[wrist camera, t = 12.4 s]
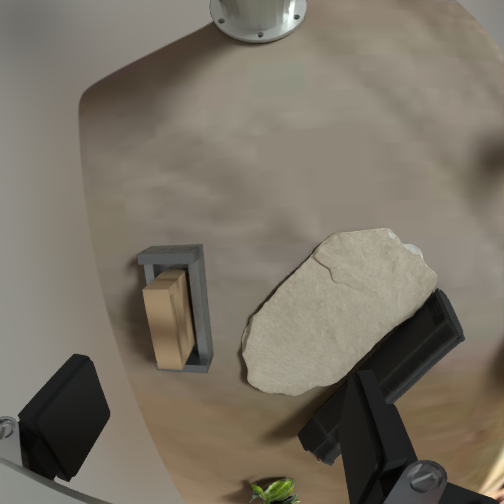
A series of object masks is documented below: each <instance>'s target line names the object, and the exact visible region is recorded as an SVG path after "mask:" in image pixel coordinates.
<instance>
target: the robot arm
mask: <svg viewBox="0 0 504 504" xmlns="http://www.w3.org/2000/svg"><path fill="white" fill-rule="evenodd" d="M306 7H307V4H306V0H211V1H210V14H211V16H212V18H213V21H214V23H215V24H216V26H217V27H218V28H219V29H220V30H221V31H222V32H223V33H225V34H226V35H228V36H230V37H232V38H234V39H237V40H241V41H244V42H252V43H264V42H270V41H274V40H278V39H281V38H283V37H285V36H287V35H289V34H291V33H292V32H293V31H295V30H296V29H297V28H298V27H299V26H300V24H301V23H302V21H303V19H304V17H305V13H306ZM296 19H298V20H296ZM221 23H222V24H221ZM259 36H262V37H261V38H259ZM18 417H19V419H20V421H19V422H17V421H16V419H14V418H13V417H9V416H2V417H0V504H112V503H109V502H106V501H103V500H100V499H97V498H94V497H91V496H88V495H85V494H83V493H80V492H78V491H75V490H72V489H70V488H68V487H65V486H63V485H61V484H58V483H56V482H55V480H54V478H55V476H57V477H58V478H60V479H62V480H65V481H67V482H69V481H70V480H71V478H72V477H74V476H76V474H77V473H78V471H79V469H80V467H81V466H82V464H83V462H84V461H85V459H86V457H87V455H88V454H89V452H90V450H91V448H92V447H93V445H94V443H95V442H96V440H97V438H98V437H99V435H100V433H101V432H102V430H103V428H104V426H105V425H106V423H107V421H108V420H109V417H110V410H109V407H108V404H107V402H106V399H105V396H104V393H103V390H102V388H101V385H100V382H99V379H98V376H97V373H96V370H95V367H94V364H93V362H92V361H91V360H90V358H89V357H88V356H85V355H80V354H73V355H72V356H71V357H70V358H69V359H68V361H66V363H65V364H64V365H63V366H62V367H61V368H60V369H59V370H58V371H57V372H56V373H55V374H54V375H53V376H52V377H51V379H50V380H49V381H48V382H47V383H46V384H45V385H44V386H43V387H42V389H40V391H39V392H38V393H37V394H36V395H35V396H34V397H33V398H32V399H31V401H30V402H29V403H28V404H27V405H26V406H25V407H24V408H23V410H22V411H21V412H20V413H19V414H18ZM338 437H339V443H340V448H341V454H342V459H343V465H344V470H345V476H346V482H347V488H348V494H349V500H350V504H499V502H498V501H497V500H495V499H493V498H491V497H488V496H485V495H482V494H479V493H476V492H473V491H470V490H468V489H465V488H462V487H459V486H457V485H454V484H452V483H449V482H447V480H448V477H447V472H446V471H445V469H444V468H443V467H442V466H441V465H440V464H439V463H437V462H435V461H431V460H419V461H418V459H417V456H416V454H415V451H414V449H413V446H412V444H411V441H410V439H409V436H408V434H407V432H406V429H405V427H404V424H403V422H402V420H401V417H400V415H399V412H398V410H397V408H396V406H395V405H394V404H386V401H385V399H384V396H383V394H382V391H381V389H380V386H379V384H378V382H377V379H376V377H375V375H374V372H373V371H372V370H362V371H356V372H355V374H354V375H351V376H350V377H349V381H348V386H347V391H346V396H345V400H344V405H343V410H342V414H341V418H340V423H339V427H338Z"/></svg>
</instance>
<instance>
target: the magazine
mask: <svg viewBox="0 0 504 504" xmlns="http://www.w3.org/2000/svg"><path fill="white" fill-rule="evenodd" d="M464 340H465V337H464V335H463V329H462V327H461V325H460V322H459V320H458V318H457V316H456V314H455V311H454V309H453V307H452V305H451V303H450V301H449V299H448V298H447V296H446V294H445V293H444V292H443V291H442V290H439V289H438V288H437V289H436V290H435V292H434V293H433V294H432V296H431V297H430V298H429V299H428V300H427V301H426V302H425V303H424V304H423V306H422V307H421V308H420V309H418V310H417V311H416V312H415V314H414V316H412V317H410V318H409V319H408V320H407V321H406V322H405V323H404V324H403V325H402V326H401V327H400V328H399V329H398V330H397V331H396V332H395V333H394V334H393V335H392V336H391V337H390V338H389V339H388V340H387V341H386V342H385V343H384V344H383V345H382V346H381V347H380V348H379V349H378V350H377V351H376V352H375V353H374V354H373V355H372V356H371V357H370V358H369V359H368V360H367V361H366V362H365V363H364V364H363V365H362V366H361V367H360V368H359V369H358V370H357V371H362V370H372V371H373V372H374V375H375V377H376V379H377V382H378V384H379V386H380V389H381V391H382V394H383V396H384V399H385V401H386V404H393V403H394V402H395V401H396V400H397V399H398V398H400V397H401V396H402V395H403V394H404V393H405V392H406V391H407V390H409V389H410V388H411V387H412V386H413V385H414V384H415V383H416V382H417V381H418V380H419V379H420V378H421V377H422V376H423V375H424V374H425V373H426V372H427V371H428V370H430V369H431V368H432V367H433V366H434V365H435V364H436V363H437V362H438V361H439V360H441V359H442V358H443V357H444V356H445V355H446V354H447V353H448V352H450V351H451V350H452V349H453V348H454V347H456V346H457V345H458V344H459V343H460V342H463V341H464ZM354 374H355V373H354ZM354 374H353V375H354ZM348 381H349V379H348V380H347V381H346V383H345V384H344V385H343V386H342V387H341V388H340V389H339V390H338V391H337V392H336V393H335V394H334V395H333V396H332V398H331V399H330V400H329V401H328V402H327V403H326V404H325V405H324V406H323V407H322V408H321V409H320V410H319V411H318V412H317V413H316V414H315V416H313V417H312V418H311V420H310V421H309V422H308V423H307V424H306V425H305V426H304V427H303V428H302V430H301V431H300V432H299V434H298V438H299V440H300V442H301V444H302V446H303V448H304V450H306V451H309V453H310V454H311V455H312V457H313V458H314V459H315V460H316V461H317V462H318V463H319V462H320V460H319V458H320V459H321V461H322V462H323V463H325V464H328V465H330V466H331V465H332V464H333V463H334V460H335V459H336V458H337V457H338V456H339V455H340V454H341V448H340V443H339V437H338V427H339V423H340V418H341V414H342V410H343V405H344V400H345V396H346V391H347V386H348Z"/></svg>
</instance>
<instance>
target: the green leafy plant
mask: <svg viewBox="0 0 504 504" xmlns="http://www.w3.org/2000/svg"><path fill="white" fill-rule="evenodd" d="M294 484H295V481H294V479H291V478H290V479H286V480H278V481H276V482H274V483H272V484H269V485H268V488H267V489H266V490H265V491H264V492H263V490H262V489H261V488H260V487H259V486H257V481H256V483H255V485H254V484H251V487H252V489H253V490H254V491H253V494H252V498H251V500H250V502H249V503H248V504H250V503H251V502H252V500H253V499H255V498H256V497H259V498H260V499H262V500H263V503H262V504H294V503H296V502H300V500H297V499H296V498H297V496H298V494H296V495H295V496H294V497H293V496H289V495H290V494H291V492H292V490H293V488H294ZM295 499H296V500H295Z"/></svg>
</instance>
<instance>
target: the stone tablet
mask: <svg viewBox="0 0 504 504" xmlns="http://www.w3.org/2000/svg"><path fill="white" fill-rule="evenodd" d="M436 282H437V276H436V274H435V272H434V271H432V270H431V269H430V268H429V267H428V266H427V265H426V264H425V262H424V260H423V255H422V252H421V250H420V249H418V248H417V247H415V246H413V245H412V244H411V243H407V244H403V243H401V242H400V240H399V238H398V237H397V236H396V235H395V234H394V233H393V232H392V231H391V230H389V229H388V228H378V229H369V230H360V231H354V232H341V233H336V234H333V235H331V236H329V237H328V238H327V239H326V240H325V241H323V242H322V243H321V244H320V246H318V247H317V248H316V249H315V251H314V253H313V254H312V255H311V256H310V258H309V259H308V260H307V261H306V262H304V263H302V264H301V265H300V266H299V268H298V269H297V270H296V272H295V273H294V274H292V275H291V276H290V277H289V278H288V279H287V280H285V282H284V283H283V284H281V285H280V286H279V287H278V289H277V291H276V292H275V293H274V295H272V297H271V298H270V299H269V300H268V301H267V302H266V303H265V304H264V306H263V307H262V308H261V309H260V311H258V312H257V313H255V314H254V315H252V317H251V318H250V319H249V321H250V323H249V325H248V326H247V327H246V328H245V331H244V334H243V336H242V348H243V350H242V356H243V358H244V361H245V363H246V367H247V368H248V376H247V380H248V382H249V383H250V384H251V385H252V386H254V387H256V388H258V389H260V390H261V391H263V392H267V393H270V394H271V393H280V394H281V393H282V394H285V395H291V396H293V397H294V396H298V395H300V394H302V393H304V392H306V391H307V390H309V389H311V388H313V387H315V386H328V385H331V384H334V383H336V382H338V381H339V380H340V379H341V378H342V377H344V376H345V375H346V374H347V373H348V372H349V371H350V370H351V369H352V368H353V366H354V365H355V364H356V363H357V362H358V361H359V360H360V359H361V358H362V357H363V356H364V355H365V354H366V353H368V352H369V351H370V350H371V349H372V347H373V346H374V345H375V344H376V343H377V342H378V341H380V340H381V339H382V338H383V337H384V336H385V335H386V334H387V333H388V332H390V331H391V330H392V329H393V328H394V327H395V326H397V325H399V324H401V323H402V322H404V321H405V320H407V319H408V318H410V317H412V316H414V314H415V312H416V311H417V310H418V309H420V308H421V307H422V306H423V304H424V302H425V301H426V299H427V298H428V297H429V296H430V294H431V292H432V290H433V289H434V286H435V284H436Z"/></svg>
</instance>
